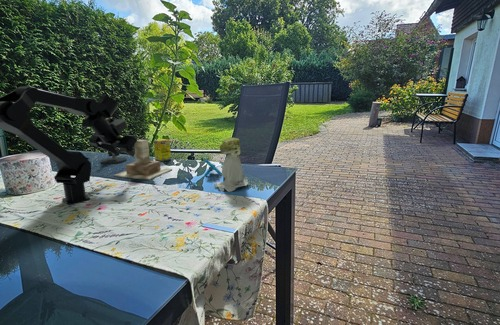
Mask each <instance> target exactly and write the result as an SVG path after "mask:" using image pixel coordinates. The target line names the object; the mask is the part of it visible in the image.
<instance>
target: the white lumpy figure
mask: <svg viewBox="0 0 500 325" xmlns="http://www.w3.org/2000/svg"><path fill="white" fill-rule="evenodd" d="M219 152H220V154H221V155H225V156H226V157H224V161H223V163H222V165H221V173H222V175H221V176H222V177H223V178H222V181H219V182H217V181H214V183H213V184H214V185H213V186H214V188H215V189H219V191H220V192H224V191H227V192H229V193H231V192H233V191H235V190H236V189H237V188H239V187H247V186H248V185H250V184H249V181H248V179H245V178H244V174H243V173H244V172H243V166H242V163H241V159H240V157H239V155H241V153H242V148H241V141H240V138H237V137H227V138H225V139H224V140H223V141H222V143H221V144H219Z"/></svg>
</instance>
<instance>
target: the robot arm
mask: <svg viewBox="0 0 500 325" xmlns="http://www.w3.org/2000/svg"><path fill="white" fill-rule="evenodd" d="M35 104H37V105H43V106H47V107H53V108H57V109H63V110H65V111H67V112H68V113H71V114H73V115H75V116H86V117H85V118H82V119H81V120H82V122H81V127H82V128H90V129H91V130H92V131H93V132H94V133H93V134H92V135H91V137H89V138H88V140H89V141H88V142H89V144H90V145H91V146H95V147H96V148H99V149H101V150H102V149H104V150H103V151H105V150H106V151H105V152H108V151H109V152H111V153H114V154H115V153H116V150H115V148H116V147H115V148H114V147H113V145H112V144H113V143H117V146H118V147H117V148H118V150H119V149H120V150H121V151H120V152H122V153H125V154H126V155H128V156H130V157H135V149H134V147H135V146H134V144H135V143H136V142H137V140H138V138H137V137H136V136H135V135H133V134H132V135H131V134H124V136H123V137H122V136H121V135H122V134H123V132H122V131H124V130H125V129H126V130H127V129H128V124H127V122H126V120H125V119H120V118H112V116H113V114H114V113H115V111H117V109H118V107H119V103H118V101H117V100H115V99H114V98H112V97H110V96H109V95H108V94H101V95H100V96H99V98H98V100H97V101H96V99H94V98H93V97H74V96H73V97H72V96H69V95H64V94H60V93H57V92H56V93H55V92H51V91H47V90H44V89H43V90H42V89H39V88H36V87H34V86H18V87H17V88H15V89H14V90H12V91H11V92H8V93H6V94H4V95H2V96H0V129H1V130H3V131H6V132H9V133H12V134H14V135H16V136H17V137H19V138H20V139H22V140H23V141H24V142H26V143H28V144H29V145H31V146H32V147H33V148H35V149H36V150H38V151H39V152H41V153H42V154H43V155H45V156H46V157H48V158H49V159H51V160H52V161H54V162H55V164H56V168H57V169H58V171H57V172H56V174H55V176H54V180H55V182H56V183H57V184H60V183H61V184H62V185H63V190H64V195H65V196H64V197H62V199H61V200H62V201H63V202H64V203H65V204H67V205H72V204H76V203H80V202H81V203H82V202H85V201H89V200H90V199H91V196H88V195H87V194H86V188H85V183H87V182H90V180H91V179H90V178H91V174H92V163H91V161H90V158H89V157H86V156H85V155H84V154H83V152H81V151H73V150H72V151H69V150H67V149H65V148H64V147H63V146H62V145H61V144H59V143H58V142H57V141H55V140H54V139H53V138H51V137H50V136H49V135H48V134H47V133H45V132H44V131H42V130H41V129H40V128H39V127H37V126H36V125H35V124H33V123H32V120H31V117H30V114H28V113H29V112H31V111H32V110H33V107H34V106H35Z"/></svg>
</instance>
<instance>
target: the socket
mask: <svg viewBox="0 0 500 325" xmlns="http://www.w3.org/2000/svg"><path fill="white" fill-rule="evenodd" d="M125 169H126V170H124V171H121V172H119V173H116V174H114V175H113V176H114V177H116V178H127V179H128V178H129V179H134V180H135V179H138V180H146V181H151V180H153V179H156V178H157V177H160V176H162V175H164V174H167V173H169V172H172V171H173V168H167V167H166V168H165V167H161V162H160V161H155V160H150V163H149V164H146V165H138V164H136V161H133V162H130V163H127V164H125Z"/></svg>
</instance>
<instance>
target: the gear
mask: <svg viewBox="0 0 500 325" xmlns="http://www.w3.org/2000/svg"><path fill="white" fill-rule="evenodd" d="M203 161H204V162H205V163H206V164H207V165H208V169H207V170H206V172H205V173H204V176H205V177H207V176H208V175H209V174H210V173H211V172H212V171H215V173H217V174H218V175H219V176H222V171H220V170H219V169H218V167H216V165H215V164H214V163H212V162H211V161H210V160H208V159H207V158H204V159H203Z"/></svg>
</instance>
